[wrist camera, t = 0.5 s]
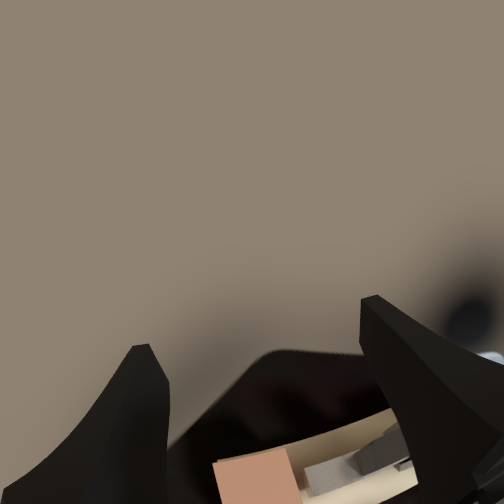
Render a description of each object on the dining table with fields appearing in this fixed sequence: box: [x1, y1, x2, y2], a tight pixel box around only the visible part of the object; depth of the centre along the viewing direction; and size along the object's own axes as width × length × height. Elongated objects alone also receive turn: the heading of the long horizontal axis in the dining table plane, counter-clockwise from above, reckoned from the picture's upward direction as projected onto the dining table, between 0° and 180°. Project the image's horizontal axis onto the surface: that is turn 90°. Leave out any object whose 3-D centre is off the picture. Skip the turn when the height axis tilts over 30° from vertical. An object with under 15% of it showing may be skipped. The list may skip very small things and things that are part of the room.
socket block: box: [212, 448, 303, 504], centre depth 18 cm, size 6×5×5 cm
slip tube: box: [300, 428, 410, 498], centre depth 18 cm, size 2×15×7 cm, turn 104°
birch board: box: [217, 408, 418, 504], centre depth 21 cm, size 8×23×1 cm, turn 104°
